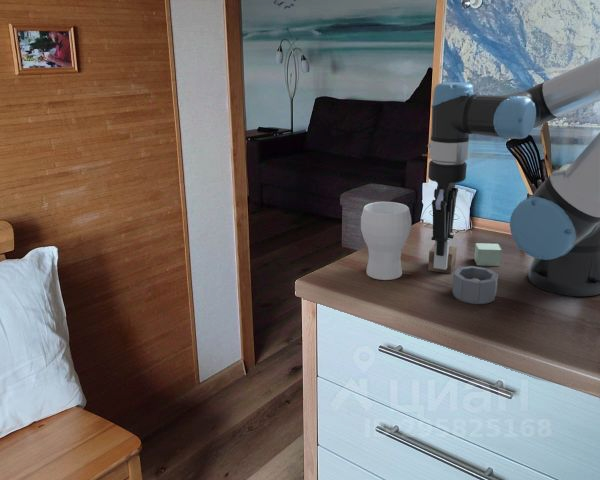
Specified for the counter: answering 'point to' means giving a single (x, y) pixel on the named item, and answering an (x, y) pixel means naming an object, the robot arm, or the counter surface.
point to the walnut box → (450, 260)
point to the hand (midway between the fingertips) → (440, 267)
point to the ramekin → (475, 285)
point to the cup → (385, 237)
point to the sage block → (487, 254)
